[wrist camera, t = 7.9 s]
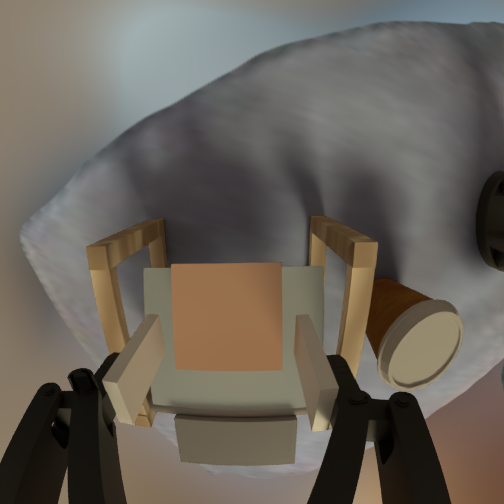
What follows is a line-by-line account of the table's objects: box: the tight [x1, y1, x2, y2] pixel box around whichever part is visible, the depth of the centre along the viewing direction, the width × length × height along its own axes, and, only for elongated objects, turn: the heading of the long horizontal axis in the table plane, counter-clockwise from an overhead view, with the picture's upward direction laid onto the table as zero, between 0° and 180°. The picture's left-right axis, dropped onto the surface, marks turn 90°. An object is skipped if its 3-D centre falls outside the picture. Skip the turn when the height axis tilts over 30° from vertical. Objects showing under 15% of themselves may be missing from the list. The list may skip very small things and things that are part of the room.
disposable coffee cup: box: [365, 278, 464, 391], centre depth 25 cm, size 10×10×12 cm
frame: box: [86, 216, 378, 429], centre depth 24 cm, size 19×17×13 cm
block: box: [171, 262, 282, 371], centre depth 18 cm, size 6×6×6 cm
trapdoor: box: [144, 266, 324, 466], centre depth 21 cm, size 15×18×2 cm
